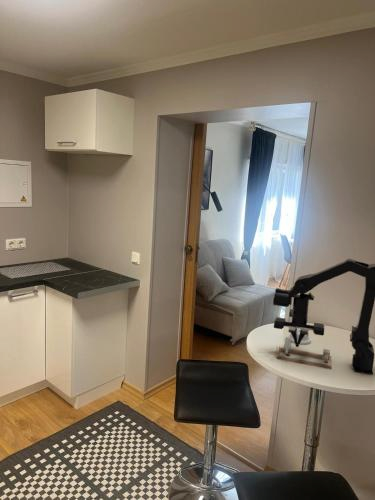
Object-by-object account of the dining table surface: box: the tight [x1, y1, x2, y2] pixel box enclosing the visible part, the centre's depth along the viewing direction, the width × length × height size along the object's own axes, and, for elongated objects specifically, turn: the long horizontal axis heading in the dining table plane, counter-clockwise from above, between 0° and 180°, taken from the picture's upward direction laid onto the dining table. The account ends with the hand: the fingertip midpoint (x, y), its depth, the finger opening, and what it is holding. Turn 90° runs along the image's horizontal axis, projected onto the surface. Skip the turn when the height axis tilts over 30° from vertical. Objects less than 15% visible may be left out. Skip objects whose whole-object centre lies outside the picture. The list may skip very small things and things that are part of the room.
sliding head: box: [283, 336, 292, 355], centre depth 147 cm, size 2×6×5 cm, turn 160°
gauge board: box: [276, 346, 333, 370], centre depth 145 cm, size 20×9×4 cm, turn 70°
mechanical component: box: [287, 328, 312, 346], centre depth 163 cm, size 10×4×10 cm
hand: (297, 346), depth 147 cm, fingers closed
